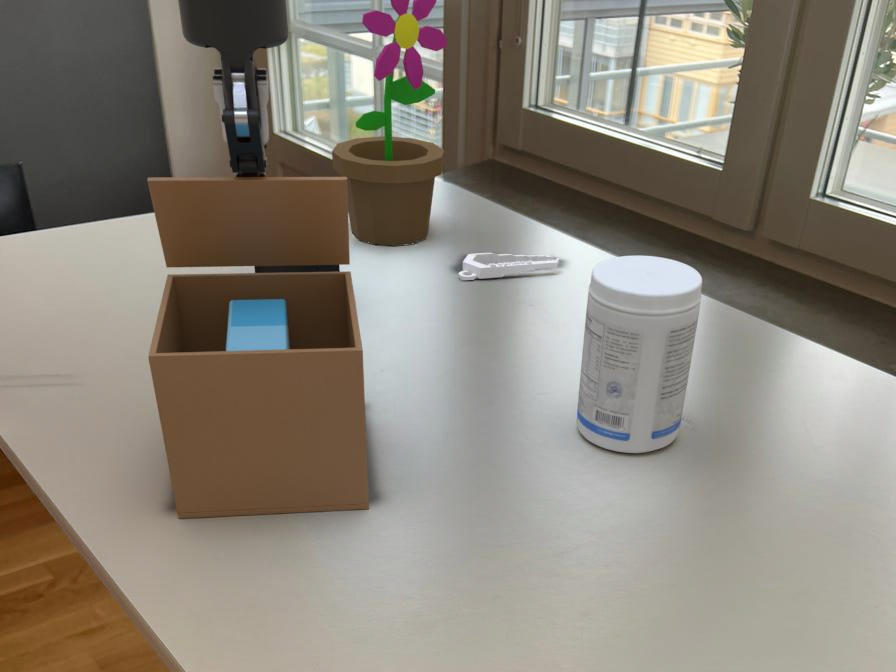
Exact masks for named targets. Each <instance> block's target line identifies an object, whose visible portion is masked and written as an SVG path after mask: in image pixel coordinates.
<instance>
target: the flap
mask: <svg viewBox="0 0 896 672" xmlns="http://www.w3.org/2000/svg"><path fill="white" fill-rule="evenodd" d="M146 180H147V186H148V190H149V195H150V198H151V204H152V208H153V213H154V217H155V222H156V225H157V230H158V236H159V239H160V245H161V248H162V249H161V250H162V253H163V256H164V263H165V266H166V268H168V269H169V268H216V267H217V268H218V267H220V268H223V267H225V268H226V267H254V266H292V265H339V266H343V265H344V266H348V265H351V258H350V227H349V226H350V222H349V213H348V190H347V177H342V176H265V177H236V176H211V177H210V176H204V177H203V176H201V177H199V176H198V177H197V176H195V177H194V176H191V177H189V176H187V177H186V176H183V177H182V176H181V177H179V176H177V177H176V176H175V177H173V176H171V177H158V176H157V177H147V179H146Z"/></svg>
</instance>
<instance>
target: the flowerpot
mask: <svg viewBox="0 0 896 672" xmlns="http://www.w3.org/2000/svg"><path fill="white" fill-rule="evenodd" d="M389 1H390V6H391V7H392V9H393V10H394V12H396V14H397V15H398V17H396V20H394V18H393V17H392V15H391V14H389V13H387V12H383V11H380V10H376V9H373V10H370V11H367V12H364V13H363V14H362V21H361V24H362V25H363V26H364V27H365V28H366V29H367V31H368V32H369V33H370V34H374V35H376V36H377V35H378V36H380V37H385V38H388V37H389V36H391V35H393V38H392V41H391V42H390V43H388V44H386V45H384V47H383V48H382V50H381V51H380V53H379V55H378V56H377V57H376V60H375V67H374V73H373V77H374V78H375V79H376V80H377V81H378V82H380V81H382V80H385V81H384V92H383V111H378V110H372V111H368V112H366V113H363V114H362V115H361V116H359V118H358V119H357V120H356V121H355V128H357V129H360V130H363V131H366V132H368V131H377V130H379V129H382V128H383V127H384V129H383V130H384V136H382V135H380V136H369V137H367V136H366V137H356V138H352V139H349V140H346V141H342V142H339V143H336V145H335V146H334V148H333V149H332V150H331V158H332V170H334V171H335V172H337V173H338V174H339V175H340V176H341V177H347V190H348V220H349V226H350V230H351V235H352V234H353V235H354V236H355V237H354V236H353V235H352V236H353V237H354V238H355V239H357V240H358V239H359V240H361V241H360V242H362V241H365V242H364V243H366V242H369V243H368V244H370V243H372V244H371V245H373V244H379V245H378V246H384V245H401V246H405V245H404V244H409V245H413V244H412V243H415V244H417V243H419V242H418V241H420V242H422V241H424V240H426V239H427V237H428V234H429V229H430V228H429V227H430V222H431V211H432V204H433V196H434V189H435V180H436V178H437V177H439V176H441V175H442V174H443V171H444V168H445V149H444V148H442V147H441V146H439V145H438V144H435V143H434V142H431V141H426V140H421V139H418V138H417V139H416V138H412V137H399V136H393V122H392V121H393V117H392V111H393V110H392V101H394V102H397V103H398V104H401V105H404V106H408V105H413V104H418V103H421V102H423V101H425V100H426V99H428V98H431V97H432V96H434V95H435V94H436V89H435V88H434V87H432V86H431V85H430V84H428V83H427V82H425V81H424V80H423V78H424V67H423V62H422V57H421V54H420V53H419V52H418V50H417V49H416V48H415V44H416V43H417V42H418V44H419V45H420V47H421V48H424V49H427V50H430V51H434V52H438V51H440V50H443V49H446V48H447V46H448V37H447V36H446V35H445V34H444V32H443V31H442V29H440V28H436V27H433V26H429V25H423V26H422V27H419V21H422V20H424V19H426V18H428V17H429V15H430V13H431V12H432V11H433V9H434V7H435V6H436V4H437V0H413V1H412V7H411V8H412V9H411V13H408V10H409V4H410V0H389ZM402 49H404V50H405V51H404V56H403V58H402V64H403V70H404V74H405V75H404V76H401V77H400V78H397V79H395V80H394V75H395V74H394V73H395V69H396V67H397V66H398V64H399V63H400V61H401V52H402V51H401V50H402ZM425 238H426V239H425ZM423 239H424V240H423ZM359 240H358V241H359ZM421 240H422V241H421ZM416 242H417V243H416Z"/></svg>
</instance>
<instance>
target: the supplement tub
mask: <svg viewBox="0 0 896 672" xmlns="http://www.w3.org/2000/svg"><path fill="white" fill-rule="evenodd" d="M702 286H703V278H702V275H701V274H700V272H698V271H697V269H695V268H694V267H692V266H690V265H688V264H686V263H684V262H681V261H679V260H675V259H670V258H666V257H660V256H656V255H655V256H654V255H622V256H621V255H620V256H616V257H611V258H607V259H605V260H602V261H600V262H598V263H597V264H596V265H595V266H593V268H592V271H591V276H590V283H589V286H588V291H587V301H586V311H585V322H584V333H583V341H582V342H583V343H582V352H581V353H582V355H581V365H580V375H579V386H578V387H579V389H578V398H577V408H576V426H577V429H578V430H579V432H580V434H581V435H582V437H584V438H585V439H586V440H587V441H589V442H590V443H591V444H594V445H596V446H598V447H600V448H602V449H605V450H609V451H612V452H617V453H618V452H619V453H626V454H643V453H650V452H655V451H656V450H659V449H660V450H661V449H663V448H665V447H667V446H668V445H670V444H671V443H672V442H674V440H676V438H677V437H678V435H679V432H680V429H681V423H682V419H683V418H682V417H683V414H684V413H683V411H684V406H685V400H686V394H687V390H688V389H687V388H688V383H689V377H690V370H691V366H692V365H691V364H692V358H693V354H694V353H693V352H694V346H695V340H696V333H697V329H698V323H699V316H700V310H701V304H702V303H701V302H702V301H701V300H702V288H703V287H702Z"/></svg>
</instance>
